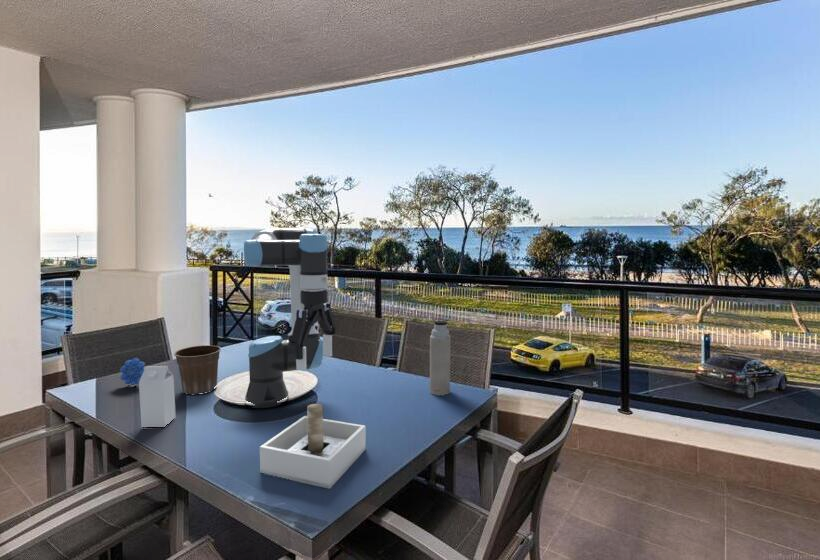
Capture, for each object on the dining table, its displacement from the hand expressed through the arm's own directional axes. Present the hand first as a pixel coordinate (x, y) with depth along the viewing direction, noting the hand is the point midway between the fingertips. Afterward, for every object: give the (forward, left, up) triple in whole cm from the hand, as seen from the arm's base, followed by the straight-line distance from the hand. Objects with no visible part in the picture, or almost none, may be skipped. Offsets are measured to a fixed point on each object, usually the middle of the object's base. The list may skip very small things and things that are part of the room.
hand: (315, 362), depth 119 cm
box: (+5, -8, -24) cm, 26 cm away
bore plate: (+5, -8, -24) cm, 26 cm away
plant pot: (-67, +23, -24) cm, 75 cm away
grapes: (-95, +18, -24) cm, 100 cm away
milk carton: (-55, -5, -24) cm, 61 cm away
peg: (+5, -8, -23) cm, 25 cm away
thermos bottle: (+23, +53, -24) cm, 62 cm away
